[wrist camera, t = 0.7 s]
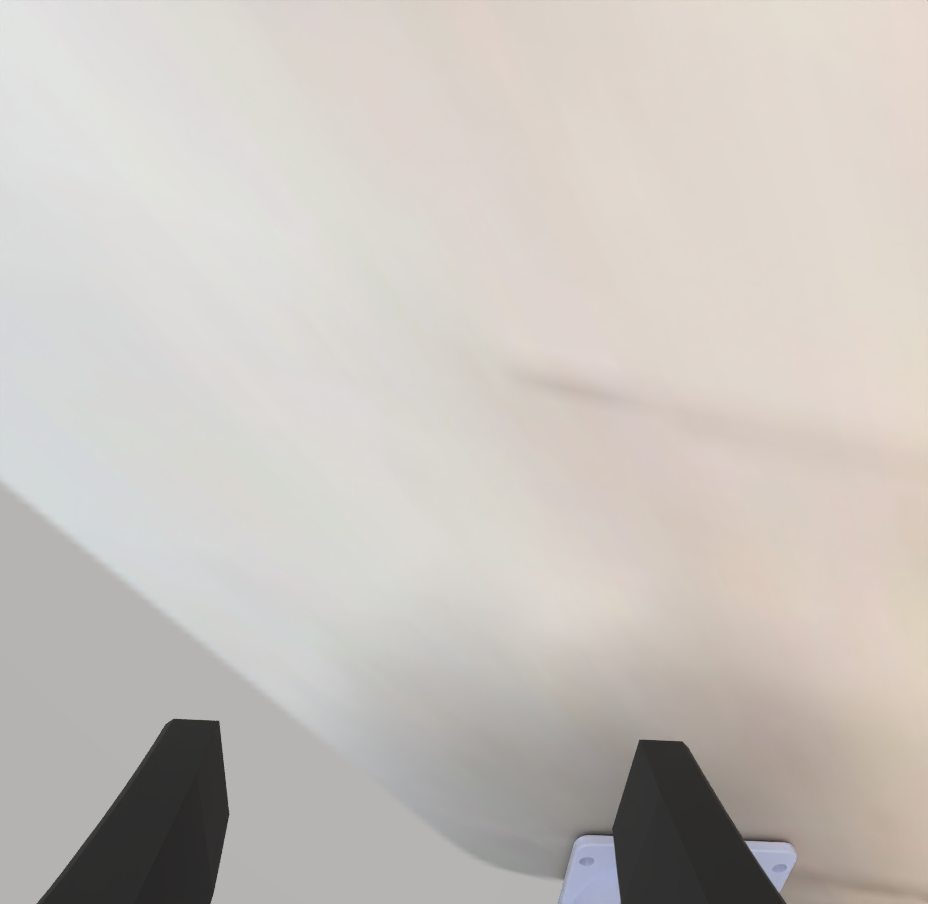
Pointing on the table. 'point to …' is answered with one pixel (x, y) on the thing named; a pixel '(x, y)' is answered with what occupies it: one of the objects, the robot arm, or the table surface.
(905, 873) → the table surface
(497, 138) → the table surface
